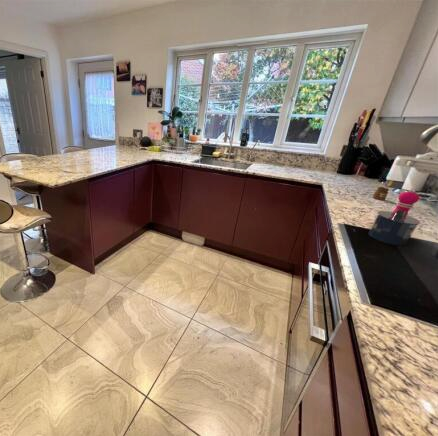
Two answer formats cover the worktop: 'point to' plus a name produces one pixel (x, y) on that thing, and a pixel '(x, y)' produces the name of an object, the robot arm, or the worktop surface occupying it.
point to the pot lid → (398, 217)
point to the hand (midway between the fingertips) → (426, 166)
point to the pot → (391, 231)
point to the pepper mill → (407, 200)
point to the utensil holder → (381, 192)
